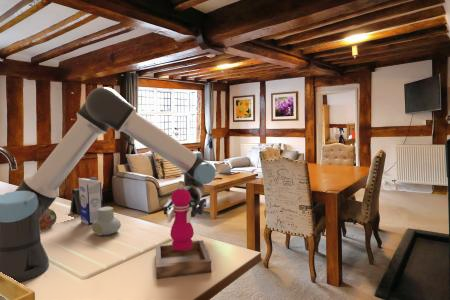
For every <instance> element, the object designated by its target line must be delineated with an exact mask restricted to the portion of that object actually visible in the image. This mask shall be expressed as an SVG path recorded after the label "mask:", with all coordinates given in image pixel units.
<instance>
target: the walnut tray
mask: <svg viewBox="0 0 450 300" xmlns="http://www.w3.org/2000/svg"><path fill="white" fill-rule="evenodd" d="M155 272H156V273H155V275H156V278H155V279H165V278H167V279H168V278H175V277H183V276H184V277H185V276H191V275H200V274H206V273H212V260H211V257H210V254H209V252H208V249H207V247H206V244H205V242H204V240H192V247H191V248H190V249H188V250H183V251H179V250H175V249H173V247H172V242H170V243H160V244H155Z"/></svg>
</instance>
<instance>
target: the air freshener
mask: <svg viewBox="0 0 450 300" xmlns="http://www.w3.org/2000/svg"><path fill="white" fill-rule="evenodd" d="M114 213H115V212H114V207H112V206H103V207H102V208H99V209H98V219H97V220H96V221H94V222H93V224H92V225H91V231H92V232H93V233H94V234H96V235H99V236H101V235H102V236H103V235H104V236H110V235H112V234H115V233H117V231H119V230H120V229H121V227H122V226H121V225H122V223H121V220H120V219H118V218H117V217H115V214H114ZM102 236H101V237H102ZM104 236H103V237H104Z"/></svg>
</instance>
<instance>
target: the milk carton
mask: <svg viewBox="0 0 450 300" xmlns="http://www.w3.org/2000/svg"><path fill="white" fill-rule="evenodd" d="M102 185H103V184H102V181H101V180H98V178H97V177H94V176H91V177H90V178H86V177H85V178H84V177H82V178H80V177H78V188H79V194H80V211H81V215H80V222H81V224H84V225H86V226H88V227H89V226H92V224H93V222H94V221H96V220H97V219H98V209H99V208H102V207H104V206H103V191H102V189H103V187H102Z"/></svg>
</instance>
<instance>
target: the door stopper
mask: <svg viewBox="0 0 450 300" xmlns="http://www.w3.org/2000/svg"><path fill="white" fill-rule="evenodd" d="M69 213H71V214H74V215H77V216H79V217H81V211H80V194H79V187H78V188H72V190H71V202H70V209H69Z"/></svg>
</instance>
